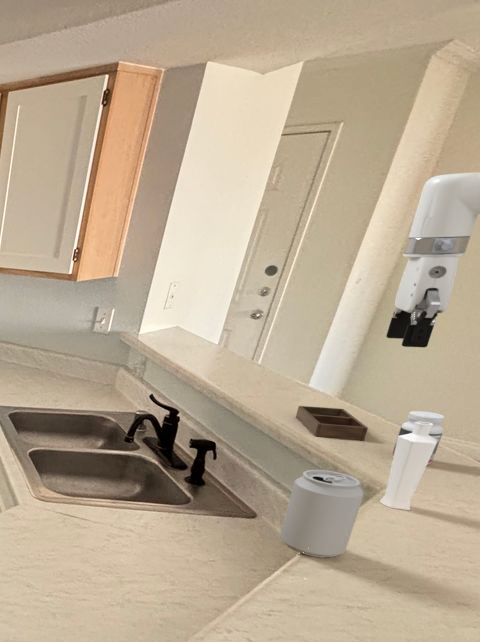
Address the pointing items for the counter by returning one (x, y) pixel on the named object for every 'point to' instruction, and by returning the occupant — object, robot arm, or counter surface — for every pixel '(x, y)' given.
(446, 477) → the counter surface
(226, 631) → the counter surface
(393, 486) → the perfume bottle
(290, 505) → the can
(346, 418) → the brown wooden tray
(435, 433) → the pill bottle
